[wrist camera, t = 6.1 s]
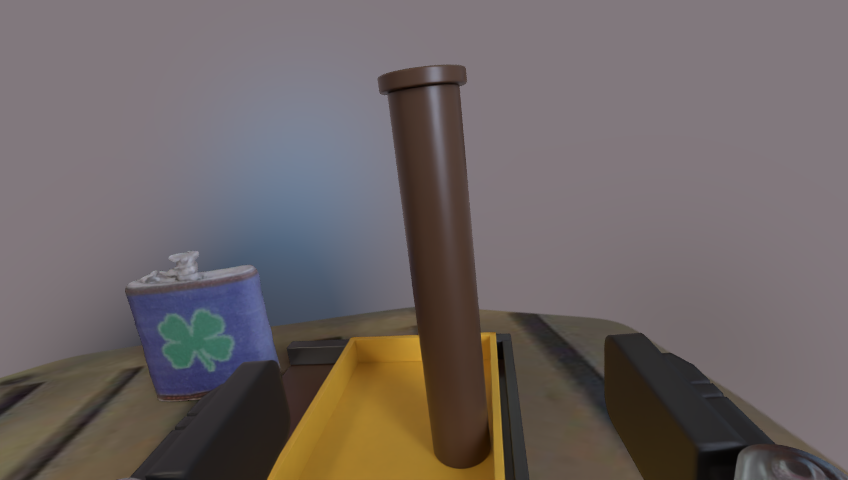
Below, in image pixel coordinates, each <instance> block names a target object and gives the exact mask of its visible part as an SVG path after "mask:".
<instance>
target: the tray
mask: <svg viewBox="0 0 848 480" xmlns="http://www.w3.org/2000/svg"><path fill="white" fill-rule="evenodd" d="M466 82H467V77H466V68H465V67H464V66H461V65H434V66H423V67H415V68H409V69H403V70H398V71H393V72H390V73H386V74H383V75H382V76H380V77H378V85H379V92H380V94H382V95H388V101H389V109H390V117H391V125H392V132H393V140H394V148H395V155H396V164H397V170H398V178H399V187H400V194H401V202H402V209H403V218H404V225H405V233H406V241H407V248H408V256H409V263H410V272H411V279H412V287H413V295H414V302H415V310H416V318H417V325H418V333H419V335H405V336H378V337H352V338H351V339H350V340H349V342H348V344H347V345H346V347H345V349H344V350H343V352H342V353H341V355H340V357H339V358H338V360H337V362H336V363H335V365H334V367H333V368H332V370H331V371H330V373H329V375H328V376H327V378H326V380H325V381H324V383H323V385H322V386H321V388H320V389H319V391H318V393H317V394H316V396H315V398H314V399H313V401H312V403H311V404H310V406H309V408H308V409H307V411H306V412H305V414H304V416H303V417H302V419H301V421H300V422H299V424H298V426H297V427H296V429H295V430H294V432H293V434H292V435H291V437H290V439H289V440H288V442H287V444H286V445H285V447H284V448H283V450H282V452H281V453H280V455H279V457H278V459H277V461H276V463H275V465H274V467H273V469H272V471H271V473H270V475H269V477H268V479H267V480H505V466H504V450H503V434H502V418H501V402H500V386H499V370H498V356H497V343H496V332H485V333H481V330H480V319H479V307H478V297H477V285H476V273H475V262H474V249H473V239H472V227H471V216H470V203H469V192H468V180H467V169H466V158H465V146H464V136H463V135H464V134H463V123H462V112H461V100H460V88H459V86H462V85H464V84H466Z"/></svg>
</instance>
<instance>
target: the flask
mask: <svg viewBox="0 0 848 480" xmlns="http://www.w3.org/2000/svg"><path fill="white" fill-rule="evenodd" d="M198 256H199V253H198V251H188V252H187V253H177V254H175V255H171V256H170V257H169V260H170V261H173V262H175V263H177V266H176V267H175V268H173V269H171V270H169V271H168V272H165V271H160V272H159V273H160V275H157V272H158V271H153V272H152V273H150V274H149V275H147V276H144V277H143V278H142V279H139V280H136V281H134V282H131V283H129V284H128V285H127V286H126V289H125V292H126V295H127V299H128V302H129V304H130V308H131V311H132V314H133V317H134V320H135V325H136V328H137V331H138V333H139V336H140V339H141V342H142V346H143V349H144V354H145V358H146V362H147V364H148V368H149V373H150V376H151V378H152V381H153V384H154V387H155V391H156V394H157V398H158V399H159V400H160V401H167V402H172V401H186V400H199V399H201V398H202V397H203V396H205V395H206V394H208V393H209V392H211V391H212V390H213V389H215V388H216V387H218V386H219V385H221V384H224V383H225V382H226V381H227V379H228V378H229V377H230V376H231V375H232V374H233V373H234V371H235V370H236V369H237V368H238V367H239V366H240V365H241V364H242V363H243V362H251V361H265V360H275V361H276V362H277V363H278V365H279V368H280V364H279V361H278V357H277V353H276V349H275V346H274V343H273V337H272V331H271V328H270V324H269V321H268V318H267V314H266V308H265V303H264V299H263V295H262V290H261V286H260V276H259V273H258V272H257V269H256V268H255V267H254V266H252V265H243V266H238V267H233V268H227V269H218V270H213V271H207V272H198V265H197V262H195V261H194V260H195V259H196V258H197V257H198Z"/></svg>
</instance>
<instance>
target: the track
mask: <svg viewBox="0 0 848 480" xmlns="http://www.w3.org/2000/svg"><path fill="white" fill-rule="evenodd" d="M349 340H350V339H348V340H321V341H293V342H291V344H290V345H289V346H288V347H287V351H288V356H289V360H290V364H291V366H290V367H289V368H288V370H287V371H286V372H285V373H284V375H283V376H282V380H283V385H284V389H285V393H286V398H287V402H288V406H289V411H290V418H291V423H290V431H289V436H288V439H287V441H286V443H285V445H286V444H287V442H288V440H289V439H290V437H291V435H292V434H293V432H294V430H295V429H296V427H297V426H298V424H299V422H300V421H301V419H302V417H303V416H304V414H305V412H306V411H307V409H308V408H309V406H310V404H311V403H312V401H313V399H314V398H315V396H316V394H317V393H318V391H319V389H320V388H321V386H322V385H323V383H324V381H325V380H326V378H327V376H328V375H329V373H330V371H331V370H332V368H333V367H334V365H335V363H336V362H337V360H338V358H339V357H340V355H341V353H342V352H343V350H344V349H345V347H346V345H347V344H348V342H349ZM496 343H497V356H498V370H499V386H500V402H501V418H502V434H503V450H504V466H505V480H529V474H528V466H527V458H526V450H525V443H524V435H523V427H522V420H521V412H520V404H519V396H518V389H517V381H516V373H515V366H514V358H513V350H512V342H511V335H510V334H496ZM285 445H284V447H285ZM284 447H283V448H284ZM282 450H283V449H282ZM281 452H282V451H281Z"/></svg>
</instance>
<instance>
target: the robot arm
mask: <svg viewBox="0 0 848 480" xmlns="http://www.w3.org/2000/svg"><path fill="white" fill-rule="evenodd" d="M604 352H605V402H606V407H607V411H608V414H609V417H610V419H611V421H612V423H613V425H614V427H615V429H616V430H617V432H618V434H619V436H620V438H621V439H622V441H623V443H624V445H625V447H626V448H627V450H628V452H629V454H630V456H631V457H632V459H633V461H634V463H635V464H636V466H637V468H638V470H639V472H640V473H641V475H642V477H643V479H644V480H848V476H847V475H846V474H844V473H843V472H841V471H840V470H839V469H837V468H836V467H834V466H833V465H831V464H830V463H828V462H826V461H824V460H822V459H820V458H818V457H816V456H814V455H812V454H809V453H807V452H804V451H801V450H798V449H795V448H791V447H788V446H783V445H777V444H775V443H774V442H773V441H772V440H771V439H770V438H769V437H768V436H767V435H766V434H765V433H764V432H763V431H761V430H760V429H759V428H758V427H757V426H756V425H755V424H754V423H753V422H752V421H751V420H750V419H749V418H748V417H747V416H746V415H745V414H744V413H743V412H742V411H741V410H740V409H739V408H738V407H737V406H736V405H735V404H734V403H733V402H731V401H730V400H729V399H728V398H727V397H724V396H723V393H722V392H721V391H720V390H719V389H718V388H717V387H716V386H715V385H714V384H713V383H712V384H710V380H709V379H708V378H707V377H706V376H705V375H704V374H702V373H701V372H700V371H699V370H698V369H697V368H696V367H695V366H694V365H693V364H691V363H689V362H687V361H685V360H683V359H681V358H680V357H678V356H676V355H674V354H672V353H661V352H660V351H659V350H658V349H657V348H656V347H655V346H654V345H653V343H652V342H651V341H650V340H649V339H648V338H647V337H646V336H645V335H644V334H642V333H632V334H619V335H608V336H607V337H606V339H605V347H604ZM290 423H291V418H290V411H289V406H288V402H287V398H286V393H285V389H284V385H283V380H282V376H281V372H280V368H279V365H278V363H277V362H276V361H275V360H265V361H251V362H243V363H242V364H241V365H240V366H239V367H238V368H237V369H236V370H235V371H234V373H233V374H232V375H231V376H230V377H229V378H228V379H227V381H226V382H225V383H224V384H221V385H219V386H218V387H216V388H215V389H213V390H212V391H211V392H209V393H208V394H206V395H205V396H203V397H202V398H201V399H200V400H199V401H198V402H197V403H196V404H195V406H194V407H193V408H192V409H191V410H190V411H189V412H188V413H187V417H184V418H183V419H182V420H181V421H180V422H179V423H178V424H177V426H176V427H175V430H172V431H171V432H170V433H169V434H168V436H167V437H166V438H165V439H164V440H163V441H162V442H161V443H160V444H159V446H158V447H157V448H156V449H155V450H154V451H153V452H152V453H151V454H150V456H149V457H148V458H147V459H146V460H145V461H144V462H143V463H142V464H141V466H140V467H139V468H138V469H137V470H136V471H135V472H134V473H133V474H132V476H131V477H130V478H123V479H118V480H267V479H268V477H269V475H270V473H271V471H272V469H273V467H274V465H275V463H276V461H277V459H278V457H279V455H280V453H281V451H282V449H283V447H284V445H285V443H286V441H287V439H288V436H289V431H290Z"/></svg>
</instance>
